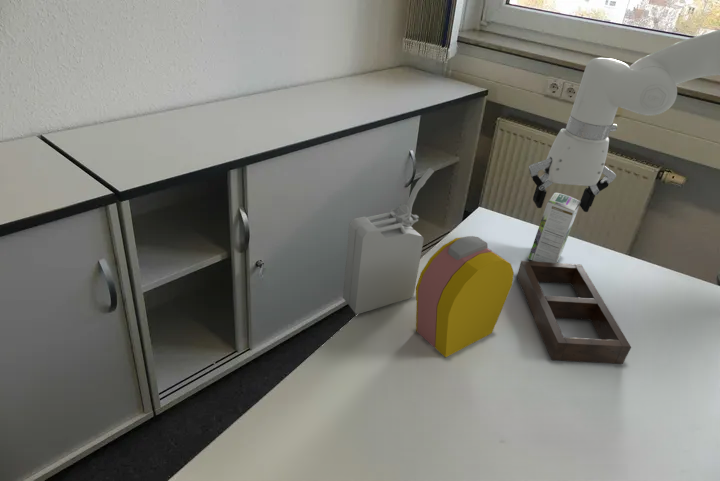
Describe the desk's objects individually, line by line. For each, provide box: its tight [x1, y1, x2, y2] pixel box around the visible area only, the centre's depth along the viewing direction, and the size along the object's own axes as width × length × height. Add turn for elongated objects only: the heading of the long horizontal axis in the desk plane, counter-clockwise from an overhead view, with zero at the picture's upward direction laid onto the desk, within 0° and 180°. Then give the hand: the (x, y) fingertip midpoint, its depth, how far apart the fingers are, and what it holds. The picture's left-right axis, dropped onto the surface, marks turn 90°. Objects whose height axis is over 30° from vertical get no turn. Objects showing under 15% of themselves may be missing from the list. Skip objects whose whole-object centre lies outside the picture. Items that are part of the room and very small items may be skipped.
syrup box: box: [527, 192, 581, 263], centre depth 114 cm, size 6×6×14 cm
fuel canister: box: [342, 167, 435, 315], centre depth 95 cm, size 15×5×25 cm, turn 120°
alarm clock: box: [415, 235, 515, 358], centre depth 90 cm, size 15×8×18 cm, turn 126°
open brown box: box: [516, 260, 632, 365], centre depth 100 cm, size 12×24×4 cm, turn 1°
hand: (560, 206), depth 111 cm, fingers open, 9 cm apart
